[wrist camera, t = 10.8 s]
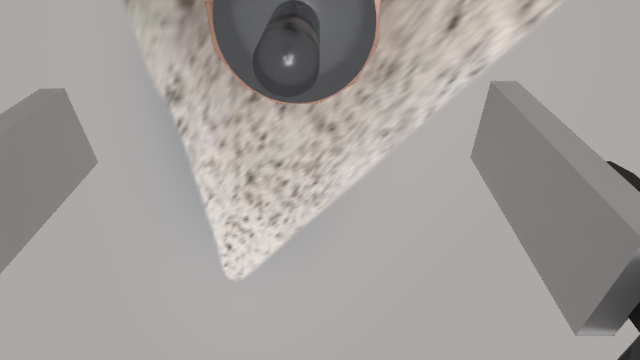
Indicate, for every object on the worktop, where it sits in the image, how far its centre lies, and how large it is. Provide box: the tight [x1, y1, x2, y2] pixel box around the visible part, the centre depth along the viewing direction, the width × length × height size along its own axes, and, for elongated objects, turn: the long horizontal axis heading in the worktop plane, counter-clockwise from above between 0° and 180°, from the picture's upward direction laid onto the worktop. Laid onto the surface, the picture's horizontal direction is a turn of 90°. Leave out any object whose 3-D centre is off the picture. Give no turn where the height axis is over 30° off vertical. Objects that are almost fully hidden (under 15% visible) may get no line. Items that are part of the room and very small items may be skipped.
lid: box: [213, 0, 376, 103], centre depth 23 cm, size 12×12×9 cm
